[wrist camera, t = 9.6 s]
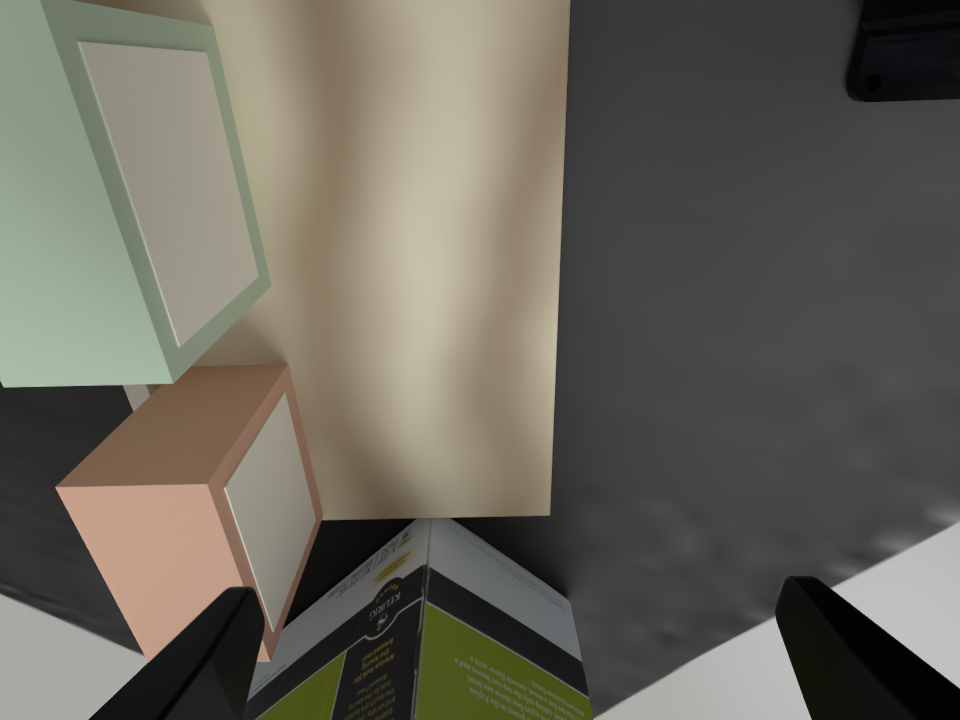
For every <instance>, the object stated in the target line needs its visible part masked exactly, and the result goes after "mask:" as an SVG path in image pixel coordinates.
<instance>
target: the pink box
mask: <svg viewBox="0 0 960 720" xmlns="http://www.w3.org/2000/svg"><path fill="white" fill-rule="evenodd" d="M55 488H56V490H57V492H58V494H59V495H60V497H61V499H62V501H63V503H64V505H65V507H66V509H67V510H68V512H69V514H70V516H71V518H72V520H73V522H74V524H75V525H76V527H77V529H78V531H79V533H80V535H81V537H82V539H83V540H84V542H85V544H86V546H87V548H88V550H89V552H90V554H91V555H92V557H93V559H94V561H95V563H96V565H97V567H98V569H99V570H100V572H101V574H102V576H103V578H104V580H105V582H106V584H107V585H108V587H109V589H110V591H111V593H112V595H113V597H114V599H115V600H116V602H117V604H118V606H119V608H120V610H121V612H122V614H123V615H124V617H125V619H126V621H127V623H128V625H129V627H130V629H131V630H132V632H133V634H134V636H135V638H136V640H137V642H138V644H139V646H140V647H141V649H142V651H143V653H144V655H145V657H146V659H147V661H148V662H150V661H151V660H152V659H153V658H154V657H155V656H156V655H157V654H158V653H159V652H160V651H161V650H162V649H163V648H164V647H165V646H166V645H167V644H168V643H169V642H171V641H172V640H173V639H174V638H175V637H176V636H177V635H178V634H179V633H180V632H181V631H182V630H183V629H184V628H185V627H186V626H187V625H188V624H189V623H190V622H192V621H193V620H194V619H195V618H196V617H197V616H198V615H199V614H200V613H201V612H202V611H203V610H204V609H205V608H206V607H207V606H208V605H209V604H210V603H211V602H213V601H214V600H215V599H216V598H217V597H218V596H219V595H220V594H221V593H222V592H223V591H224V590H226V589H227V588H229V587H233V586H251V587H253V588H254V589H255V591H256V593H257V596H258V599H259V602H260V605H261V608H262V611H263V614H264V617H265V629H264V634H263V638H262V642H261V646H260V650H259V654H258V658H257V662H271V659H272V656H273V653H274V651H275V648H276V645H277V642H278V640H279V637H280V634H281V631H282V629H283V626H284V623H285V620H286V618H287V615H288V612H289V609H290V607H291V604H292V601H293V598H294V595H295V593H296V590H297V587H298V584H299V582H300V579H301V576H302V573H303V571H304V568H305V565H306V562H307V560H308V557H309V554H310V551H311V549H312V546H313V543H314V540H315V538H316V535H317V532H318V529H319V527H320V524H321V521H322V518H323V512H322V508H321V503H320V499H319V495H318V490H317V486H316V482H315V477H314V473H313V469H312V464H311V460H310V456H309V451H308V447H307V443H306V438H305V434H304V430H303V425H302V421H301V417H300V412H299V408H298V404H297V399H296V395H295V391H294V386H293V382H292V378H291V373H290V369H289V365H288V364H267V365H229V366H191V367H190V368H189V369H188V370H187V371H186V372H185V373H184V374H183V375H182V376H181V377H180V378H179V379H178V380H177V381H176V382H175V383H174V384H162V385H161V386H160V387H159V388H158V389H157V390H156V391H155V392H154V393H153V394H152V395H151V396H150V397H149V398H148V399H147V400H145V401H144V402H143V403H142V404H141V405H140V406H139V407H138V408H137V409H136V410H135V411H134V412H133V413H132V414H131V415H130V416H129V417H128V418H127V419H126V420H125V421H124V422H123V423H122V424H121V425H120V426H118V427H117V428H116V429H115V430H114V431H113V432H112V433H111V434H110V435H109V436H108V437H107V438H106V439H105V440H104V441H103V442H102V443H101V444H100V445H99V446H98V447H97V448H96V449H95V450H94V451H92V452H91V453H90V454H89V455H88V456H87V457H86V458H85V459H84V460H83V461H82V462H81V463H80V464H79V465H78V466H77V467H76V468H75V469H74V470H73V471H72V472H71V473H70V474H69V475H68V476H66V477H65V478H64V479H63V480H62V481H61V482H60V483H59V484H58V485H57V486H56V487H55Z"/></svg>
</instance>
